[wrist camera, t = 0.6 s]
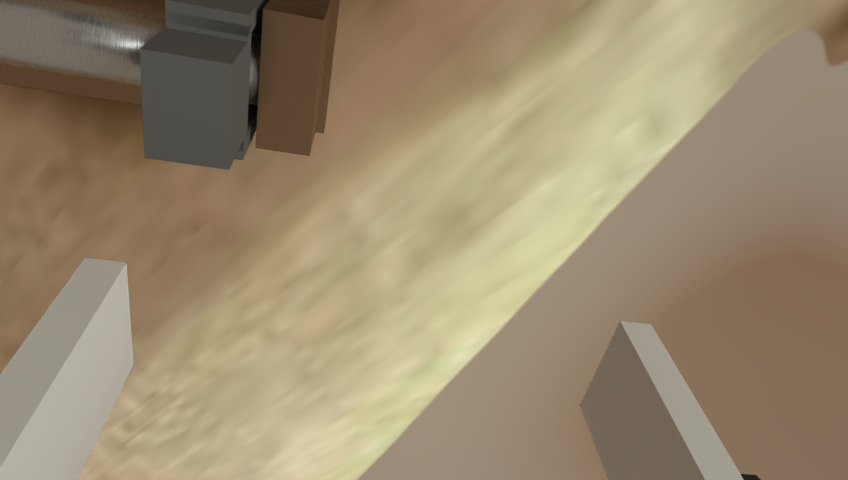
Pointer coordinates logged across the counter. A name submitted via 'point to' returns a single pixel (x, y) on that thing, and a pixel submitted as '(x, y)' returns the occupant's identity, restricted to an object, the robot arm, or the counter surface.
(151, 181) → the counter surface
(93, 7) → the pipe rig
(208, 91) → the collar
